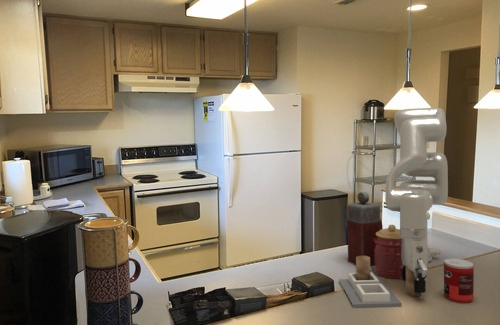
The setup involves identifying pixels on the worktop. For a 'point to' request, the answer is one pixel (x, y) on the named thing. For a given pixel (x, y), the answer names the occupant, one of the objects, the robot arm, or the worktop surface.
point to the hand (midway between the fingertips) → (413, 286)
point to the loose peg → (410, 283)
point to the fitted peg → (362, 268)
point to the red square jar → (362, 228)
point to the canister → (388, 253)
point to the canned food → (458, 280)
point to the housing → (368, 292)
